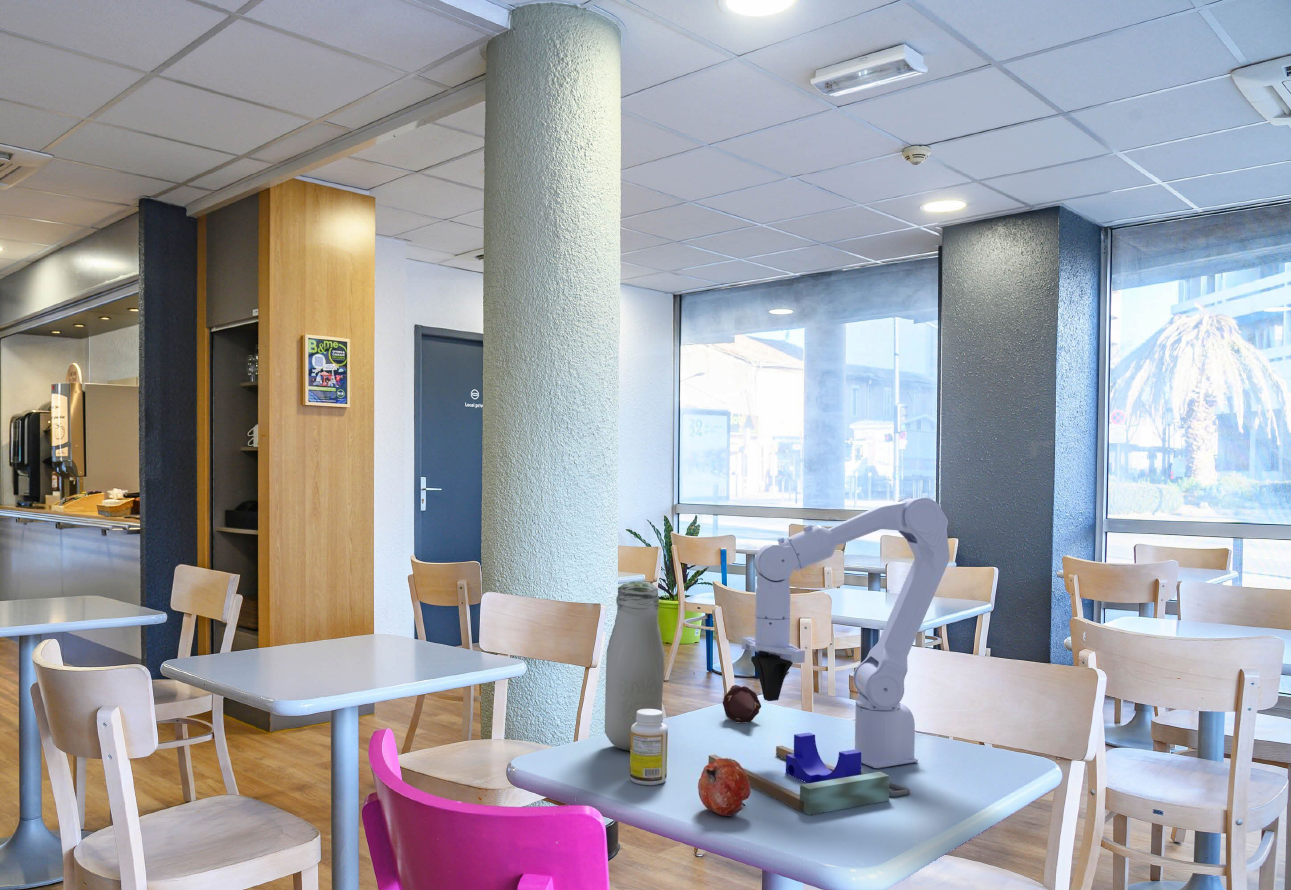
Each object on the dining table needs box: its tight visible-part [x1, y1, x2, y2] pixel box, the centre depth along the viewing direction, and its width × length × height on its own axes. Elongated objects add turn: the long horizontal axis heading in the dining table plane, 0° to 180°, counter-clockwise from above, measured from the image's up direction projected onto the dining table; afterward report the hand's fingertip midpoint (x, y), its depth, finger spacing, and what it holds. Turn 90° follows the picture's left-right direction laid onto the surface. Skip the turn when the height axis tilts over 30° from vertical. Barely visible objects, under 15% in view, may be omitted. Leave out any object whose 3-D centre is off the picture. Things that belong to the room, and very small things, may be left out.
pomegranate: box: [697, 757, 751, 817], centre depth 125 cm, size 7×7×10 cm
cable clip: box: [785, 732, 862, 784], centre depth 139 cm, size 12×4×6 cm, turn 29°
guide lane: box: [707, 745, 890, 816], centre depth 139 cm, size 15×25×4 cm, turn 29°
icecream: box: [722, 684, 762, 723], centre depth 175 cm, size 7×7×15 cm
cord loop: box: [861, 769, 911, 798], centre depth 139 cm, size 4×13×1 cm, turn 29°
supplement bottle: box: [629, 709, 669, 786], centre depth 138 cm, size 6×6×10 cm
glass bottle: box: [604, 580, 666, 751], centre depth 155 cm, size 10×10×28 cm
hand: (771, 699), depth 152 cm, fingers closed
